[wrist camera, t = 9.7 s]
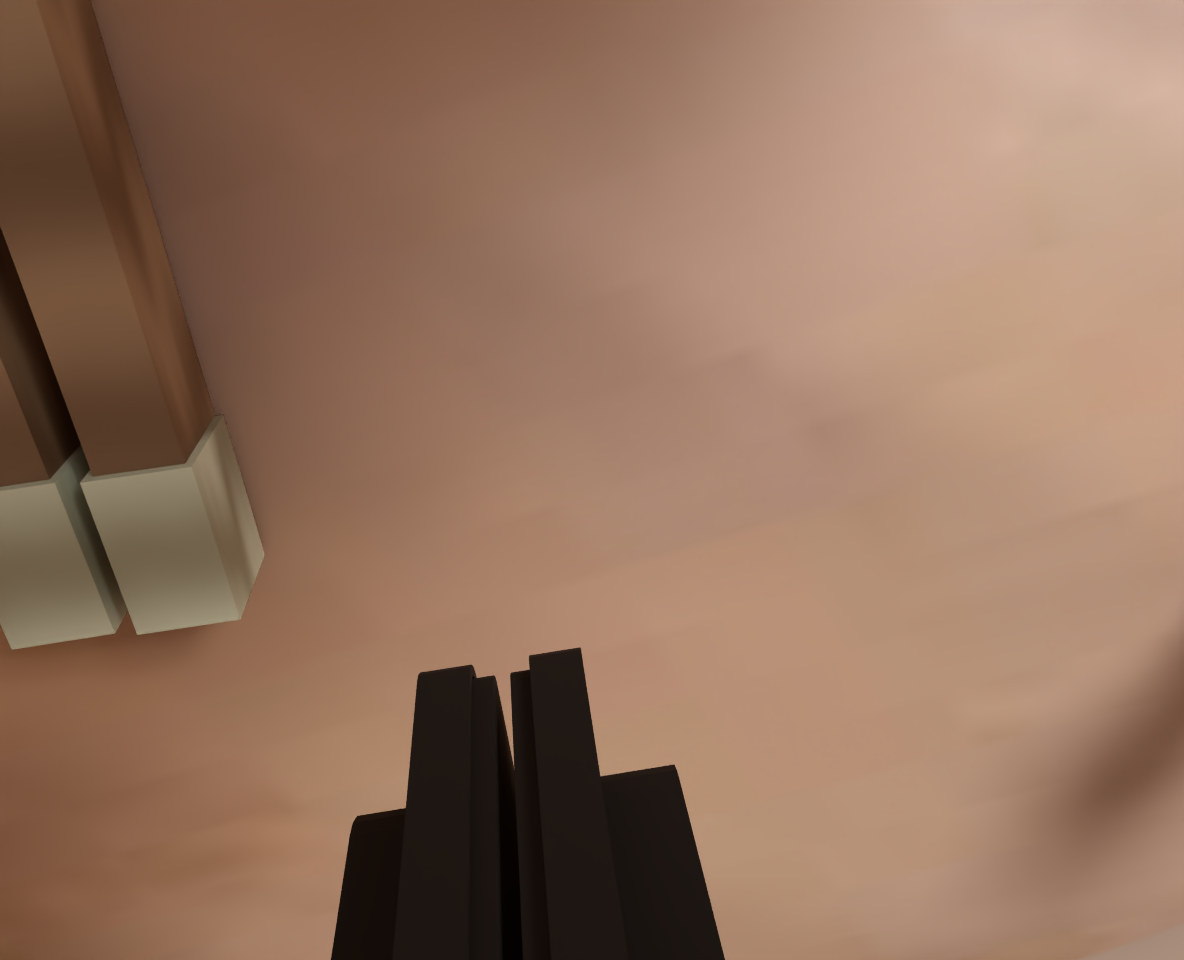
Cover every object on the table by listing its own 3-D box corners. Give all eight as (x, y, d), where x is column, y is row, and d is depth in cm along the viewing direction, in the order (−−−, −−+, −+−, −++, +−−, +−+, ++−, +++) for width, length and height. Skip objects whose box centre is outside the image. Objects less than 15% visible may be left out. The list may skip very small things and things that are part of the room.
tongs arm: (-190, -480, 21) (-318, -571, 18) (-46, -493, 21) (-146, -587, 18) (172, 568, 33) (137, 634, 29) (264, 554, 33) (240, 619, 29)
